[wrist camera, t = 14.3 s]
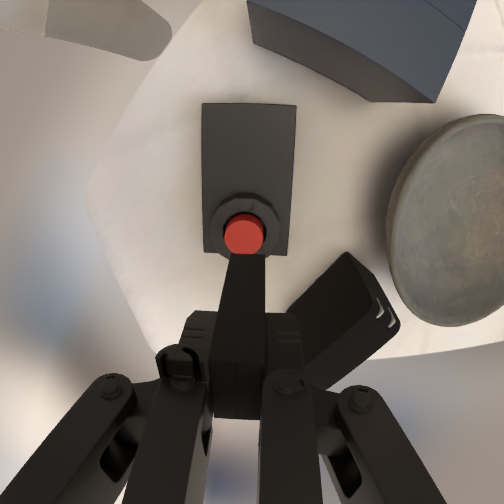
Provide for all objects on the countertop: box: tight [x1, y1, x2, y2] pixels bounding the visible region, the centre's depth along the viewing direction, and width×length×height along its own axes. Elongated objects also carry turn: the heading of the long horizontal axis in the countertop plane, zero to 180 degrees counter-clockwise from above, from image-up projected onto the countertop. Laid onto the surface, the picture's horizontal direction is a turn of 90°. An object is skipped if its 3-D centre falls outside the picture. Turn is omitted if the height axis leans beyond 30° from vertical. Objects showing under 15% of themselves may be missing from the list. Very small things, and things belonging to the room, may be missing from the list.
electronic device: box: [286, 252, 401, 390], centre depth 30 cm, size 4×10×10 cm, turn 142°
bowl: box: [385, 114, 504, 327], centre depth 26 cm, size 21×21×8 cm
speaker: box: [247, 0, 477, 103], centre depth 17 cm, size 10×12×13 cm
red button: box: [224, 214, 263, 254], centre depth 27 cm, size 3×3×2 cm
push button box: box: [201, 103, 296, 259], centre depth 28 cm, size 14×8×4 cm, turn 178°
